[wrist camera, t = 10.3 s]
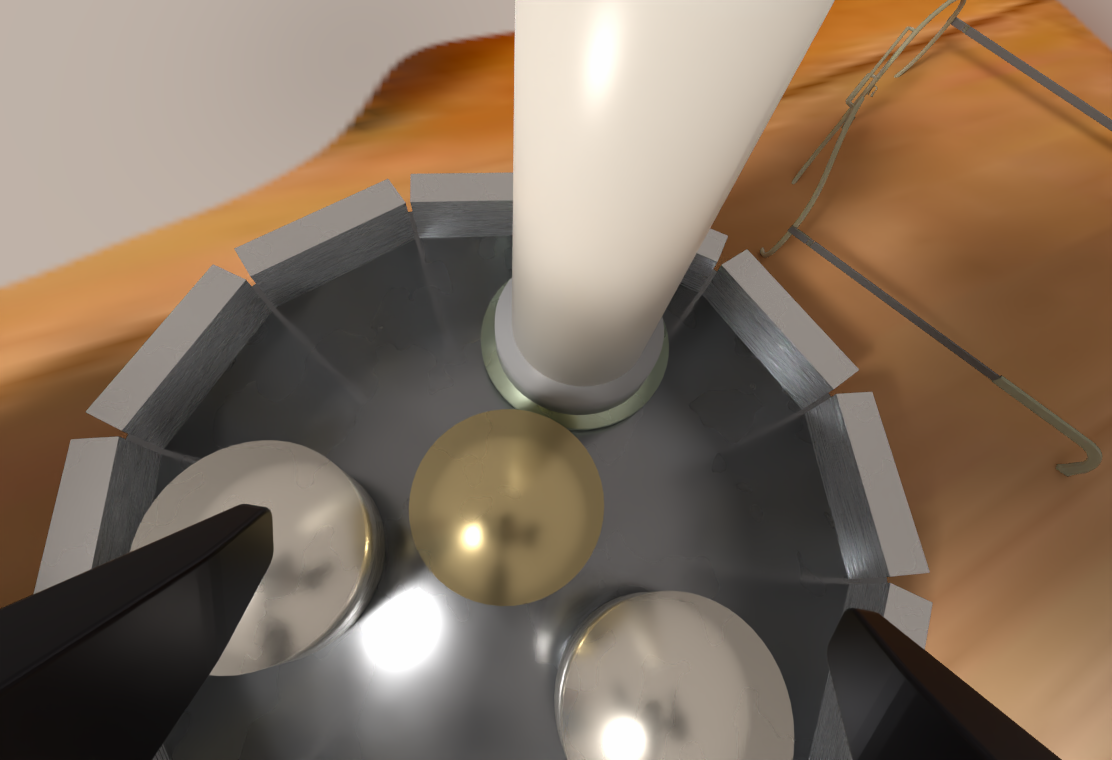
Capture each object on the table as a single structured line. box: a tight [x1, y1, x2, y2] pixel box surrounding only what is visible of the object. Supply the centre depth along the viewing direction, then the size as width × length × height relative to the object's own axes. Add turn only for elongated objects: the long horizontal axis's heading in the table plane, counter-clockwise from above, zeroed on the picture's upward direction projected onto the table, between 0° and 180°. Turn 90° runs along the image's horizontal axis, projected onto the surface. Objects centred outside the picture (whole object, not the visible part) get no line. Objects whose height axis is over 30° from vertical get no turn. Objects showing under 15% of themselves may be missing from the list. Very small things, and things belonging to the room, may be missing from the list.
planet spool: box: [495, 0, 835, 415], centre depth 13 cm, size 6×6×13 cm
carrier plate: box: [34, 173, 932, 760], centre depth 16 cm, size 24×24×4 cm
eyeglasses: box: [760, 0, 1112, 476], centre depth 22 cm, size 16×15×5 cm
